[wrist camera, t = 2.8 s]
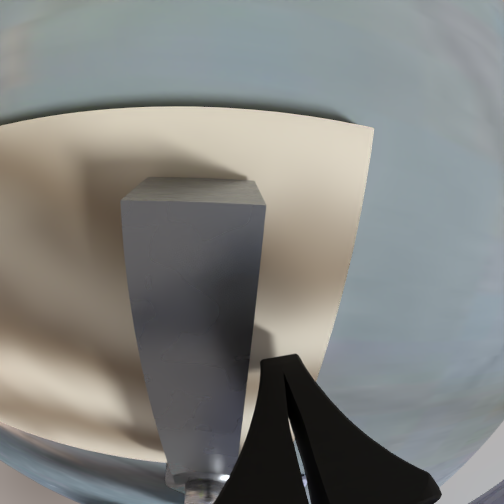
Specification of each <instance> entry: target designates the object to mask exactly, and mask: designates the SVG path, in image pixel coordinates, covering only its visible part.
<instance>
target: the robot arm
mask: <svg viewBox="0 0 504 504" xmlns="http://www.w3.org/2000/svg"><path fill="white" fill-rule="evenodd" d="M288 418H289V419H288ZM289 421H290V424H291V427H292V431H293V434H294V437H295V440H296V443H297V446H298V450H299V453H300V456H301V459H302V462H303V466H304V470H305V475H306V476H301V472H300V468H299V464H298V460H297V456H296V452H295V447H294V443H293V439H292V435H291V430H290V425H289ZM306 484H307V485H308V489H309V495H310V500H311V504H434V503H435V502H437V501H438V500H439V499H440V497H441V495H442V494H441V491H440V489H439V487H438V485H437V484H436V482H435V481H434V479H433V478H432V476H431V475H430V474H429V473H428V472H426V471H424V470H422V469H420V468H417V467H415V466H414V465H412V464H410V463H408V462H406V461H404V460H403V459H401V458H399V457H398V456H396V455H394V454H393V453H391V452H390V451H388V450H387V449H385V448H384V447H382V446H381V445H380V444H378V443H377V442H375V441H374V440H372V439H371V438H370V437H369V436H367V435H366V434H365V433H364V432H363V431H361V430H360V429H359V428H358V427H357V426H356V425H354V424H353V423H352V422H351V421H350V420H349V419H348V418H347V417H346V416H345V415H344V414H343V413H342V412H341V411H340V410H339V409H338V408H337V407H336V406H335V405H334V404H333V402H332V401H331V400H330V399H329V398H328V397H327V395H326V394H325V393H324V392H323V390H322V389H321V388H320V387H319V386H318V384H317V383H316V382H315V380H314V379H313V377H312V376H311V375H310V373H309V372H308V370H307V369H306V367H305V365H304V364H303V362H302V360H301V358H300V357H299V355H298V354H290V355H285V356H279V357H273V358H267V359H262V360H261V361H260V382H259V390H258V395H257V400H256V405H255V410H254V413H253V417H252V420H251V424H250V427H249V431H248V434H247V437H246V439H245V442H244V445H243V447H242V450H241V452H240V454H239V457H238V459H237V461H236V463H235V466H234V468H233V470H232V472H231V474H230V476H229V478H228V479H227V481H226V483H225V485H224V486H223V488H222V490H221V492H220V493H219V495H218V497H217V498H216V500H215V501H214V503H213V504H309V503H308V499H307V495H306V492H305V488H304V487H305V486H306ZM468 504H504V480H503V481H502V482H500V483H499V484H497V485H496V486H494V487H493V488H491V489H490V490H489V491H487V492H486V493H484V494H483V495H481V496H480V497H478V498H476V499H475V500H473V501H472V502H470V503H468Z"/></svg>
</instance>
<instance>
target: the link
mask: <svg viewBox="0 0 504 504" xmlns="http://www.w3.org/2000/svg"><path fill="white" fill-rule="evenodd" d="M120 203H121V221H122V235H123V246H124V257H125V266H126V275H127V283H128V291H129V298H130V305H131V312H132V318H133V324H134V330H135V335H136V341H137V346H138V351H139V356H140V361H141V366H142V371H143V375H144V380H145V384H146V388H147V392H148V396H149V400H150V404H151V408H152V412H153V416H154V419H155V423H156V426H157V430H158V433H159V437H160V440H161V443H162V447H163V450H164V453H165V456H166V459H167V462H166V476H165V483H166V485H167V486H168V487H170V488H171V489H173V490H175V491H178V492H180V493H184V494H185V502H184V504H213V503H214V501H215V500H216V498H217V497H218V495H219V493H220V492H221V490H222V488H223V486H224V485H225V483H226V481H227V479H228V478H229V476H230V474H231V472H232V470H233V468H234V466H235V463H236V461H237V459H238V457H239V454H240V452H241V445H240V438H241V429H242V421H243V413H244V404H245V396H246V387H247V379H248V370H249V361H250V353H251V344H252V335H253V326H254V317H255V308H256V299H257V290H258V281H259V271H260V262H261V253H262V243H263V234H264V224H265V214H266V203H265V201H264V199H263V197H262V195H261V193H260V191H259V189H258V187H257V185H256V183H255V181H251V180H234V179H213V178H184V177H147V178H146V179H145V180H144V181H142V182H141V183H140V184H139V185H138V186H136V187H135V188H134V189H133V190H132V191H131V192H129V193H128V194H127V195H126V196H125V197H124V198H123V199H121V200H120Z"/></svg>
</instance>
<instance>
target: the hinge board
mask: <svg viewBox="0 0 504 504" xmlns="http://www.w3.org/2000/svg"><path fill="white" fill-rule="evenodd" d="M373 133H374V128H372V127H367V126H362V125H357V124H352V123H347V122H342V121H336V120H330V119H324V118H318V117H312V116H305V115H297V114H290V113H281V112H272V111H262V110H251V109H237V108H220V107H182V106H172V107H135V108H118V109H105V110H94V111H84V112H76V113H68V114H61V115H54V116H48V117H42V118H36V119H30V120H25V121H20V122H15V123H11V124H6V125H2V126H0V422H1V423H3V424H6V425H8V426H11V427H13V428H16V429H19V430H21V431H24V432H27V433H30V434H33V435H36V436H39V437H42V438H45V439H48V440H51V441H55V442H58V443H62V444H65V445H69V446H73V447H77V448H81V449H85V450H89V451H94V452H98V453H103V454H108V455H114V456H119V457H125V458H131V459H138V460H146V461H154V462H163V463H166V462H167V459H166V456H165V453H164V450H163V447H162V443H161V440H160V437H159V433H158V430H157V426H156V423H155V419H154V416H153V412H152V408H151V404H150V400H149V396H148V392H147V388H146V384H145V380H144V375H143V371H142V366H141V361H140V356H139V351H138V346H137V341H136V335H135V330H134V324H133V318H132V312H131V305H130V298H129V291H128V283H127V275H126V266H125V257H124V246H123V235H122V221H121V203H120V200H121V199H123V198H124V197H125V196H126V195H127V194H128V193H129V192H131V191H132V190H133V189H134V188H135V187H136V186H138V185H139V184H140V183H141V182H142V181H144V180H145V179H146V178H147V177H184V178H213V179H234V180H251V181H255V183H256V185H257V187H258V189H259V191H260V193H261V195H262V197H263V199H264V201H265V203H266V214H265V224H264V234H263V243H262V253H261V262H260V271H259V281H258V290H257V299H256V308H255V317H254V326H253V335H252V344H251V353H250V361H249V370H248V379H247V387H246V396H245V404H244V413H243V421H242V429H241V438H240V445H241V450H242V447H243V445H244V442H245V439H246V437H247V434H248V431H249V427H250V424H251V420H252V417H253V413H254V410H255V405H256V400H257V395H258V390H259V382H260V361H261V360H262V359H267V358H273V357H279V356H285V355H290V354H298V355H299V357H300V358H301V360H302V362H303V364H304V365H305V367H306V369H307V370H308V372H309V373H310V375H311V376H312V377H313V379H314V380H315V382H316V380H317V377H318V374H319V371H320V368H321V365H322V362H323V359H324V355H325V352H326V349H327V346H328V342H329V339H330V336H331V332H332V329H333V326H334V322H335V319H336V315H337V311H338V308H339V304H340V300H341V297H342V293H343V289H344V285H345V281H346V277H347V273H348V269H349V265H350V260H351V256H352V252H353V247H354V243H355V238H356V233H357V229H358V224H359V219H360V214H361V209H362V203H363V198H364V192H365V187H366V181H367V175H368V168H369V162H370V155H371V148H372V141H373ZM288 419H289V418H288ZM289 425H290V430H291V435H292V439H293V442H294V440H295V437H294V434H293V431H292V427H291V424H290V421H289Z"/></svg>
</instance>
